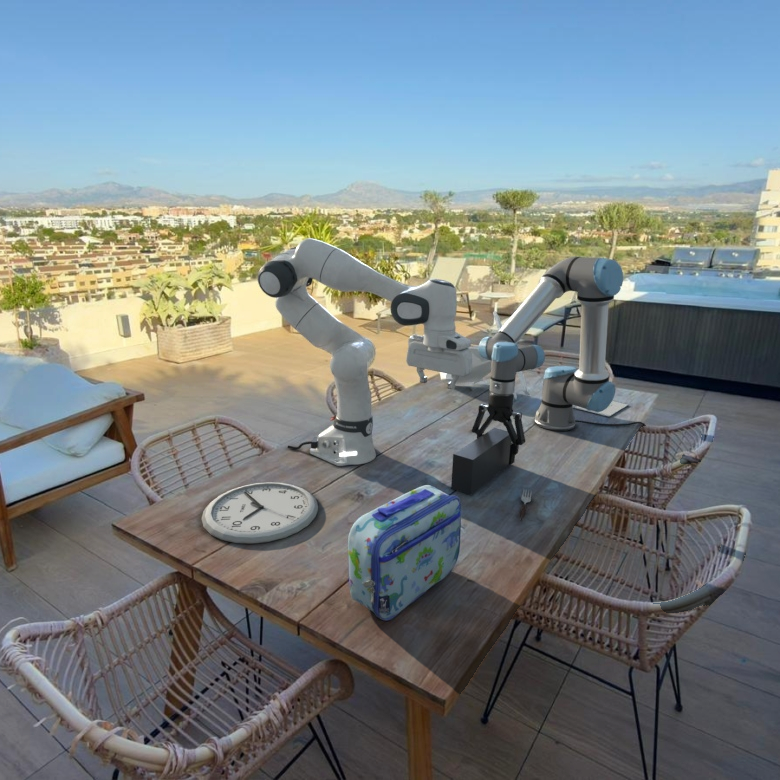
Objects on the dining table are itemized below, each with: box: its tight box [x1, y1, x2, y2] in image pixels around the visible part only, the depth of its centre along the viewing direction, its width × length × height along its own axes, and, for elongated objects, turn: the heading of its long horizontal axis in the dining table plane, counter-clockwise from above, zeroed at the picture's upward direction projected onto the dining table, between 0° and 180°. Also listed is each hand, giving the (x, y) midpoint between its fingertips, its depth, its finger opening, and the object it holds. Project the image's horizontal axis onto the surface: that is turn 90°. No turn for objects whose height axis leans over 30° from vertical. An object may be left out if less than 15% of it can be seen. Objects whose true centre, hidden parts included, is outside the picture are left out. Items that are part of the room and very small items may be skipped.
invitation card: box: [573, 400, 629, 418], centre depth 226 cm, size 21×1×15 cm
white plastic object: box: [439, 310, 531, 400], centre depth 245 cm, size 37×45×31 cm
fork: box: [520, 488, 533, 521], centre depth 143 cm, size 3×16×2 cm, turn 160°
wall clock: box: [201, 481, 319, 544], centre depth 139 cm, size 30×2×30 cm
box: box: [450, 427, 512, 496], centre depth 160 cm, size 26×6×11 cm, turn 143°
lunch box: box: [347, 484, 462, 621], centre depth 107 cm, size 26×11×21 cm, turn 134°
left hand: (437, 385), depth 151 cm, fingers open, 8 cm apart
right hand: (495, 458), depth 168 cm, fingers open, 10 cm apart
